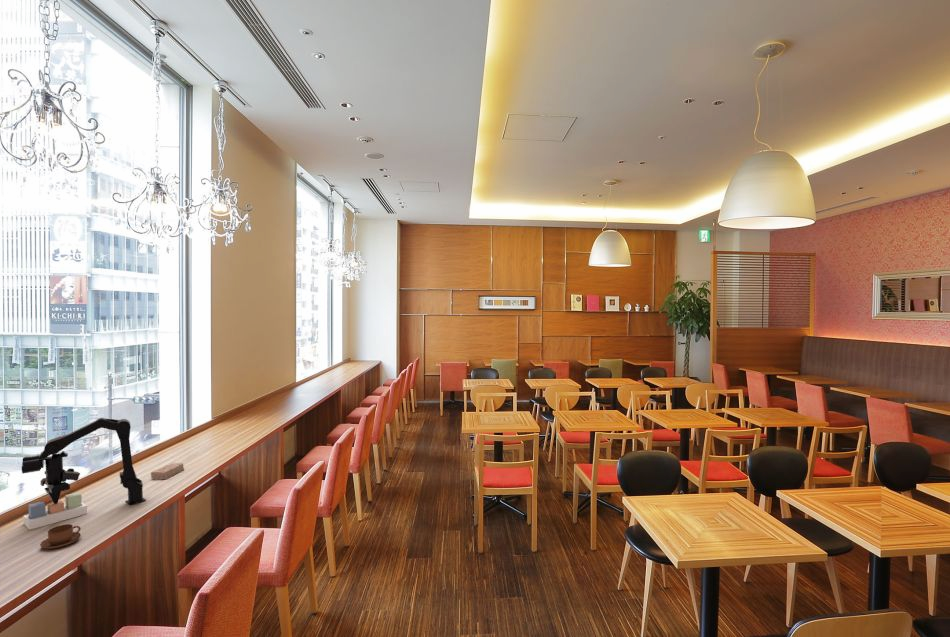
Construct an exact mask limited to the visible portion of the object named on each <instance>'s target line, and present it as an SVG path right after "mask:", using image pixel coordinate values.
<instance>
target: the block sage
mask: <svg viewBox="0 0 950 637" xmlns="http://www.w3.org/2000/svg"><path fill="white" fill-rule="evenodd" d="M64 496H65V499H64V500H65V505H66V508H67V509H71V508H74V507H78V506H82V503H83V501H82V494H81V493H80V492H79V491H78V492H73V493H70V494H65V495H64Z"/></svg>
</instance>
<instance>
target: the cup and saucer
mask: <svg viewBox="0 0 950 637" xmlns="http://www.w3.org/2000/svg"><path fill="white" fill-rule="evenodd" d="M76 528H77V529H78V530H76V531H73V530H75V529H76ZM81 529H82V528H81V526H79V525H75V526H73V524H68V523H67V524H61V525H57V526H55V527H51V528H49V530H47V538H46V539H44V540H42V541H41V542H40V543H39V546H40V547H41V548H42V549H46V550H49V549H50V550H51V549H52V550H53V549H59V548H62V547H66V546H68V545H70V544H74V543H75V542H76V541H77V540H79V538H81V533H80V532H81Z"/></svg>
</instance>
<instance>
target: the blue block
mask: <svg viewBox="0 0 950 637" xmlns="http://www.w3.org/2000/svg"><path fill="white" fill-rule="evenodd" d="M27 508H28V509H27V510H28V515H29V519H30V520H31V519H34V518H38V517H42V516H45V515H46V511H45V510H46V503H45V502H44V501H38V502H34V503H30V504H28V507H27Z"/></svg>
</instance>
